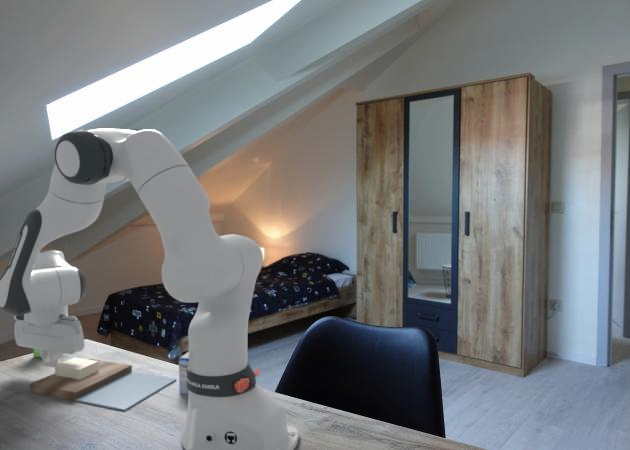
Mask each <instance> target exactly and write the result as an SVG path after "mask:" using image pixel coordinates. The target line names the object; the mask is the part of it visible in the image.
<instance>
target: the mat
mask: <svg viewBox="0 0 630 450" xmlns="http://www.w3.org/2000/svg"><path fill="white" fill-rule="evenodd" d="M176 381H177V378H173V377H169V376H168V377H167V376H162V375H161V376H160V375H155V374H150V373H144V372H143V373H142V372H137V371H133V370H132V371H131V372H129V373H127V374H125V375H123V376H121V377H119V378H117V379H115V380H113V381H111V382H109V383H107V384H105V385H103V386H101V387H99V388H97V389H95V390H93V391H91V392H89V393H87V394H85V395H83V396H81V397H79V398H77V399H75V401H74V402H77V403H78V402H79V403H82V404H87V405H91V406H93V405H94V406H98V407H101V408H107V409H111V410H115V411H122V412H126V411H127V410H129V409H131V408H132V407H134V406H136V405H138V404H140V403H141V402H142V401H145V400H146V399H148V398H149V397H151V396H153V395H154V394H156V393H157V392H159V391H161V390H163V389H164V388H167V387H168V386H170V385H171V384H173V383H174V382H176Z"/></svg>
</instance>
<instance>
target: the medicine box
mask: <svg viewBox="0 0 630 450" xmlns="http://www.w3.org/2000/svg"><path fill="white" fill-rule="evenodd" d="M188 366H189V351H187V352H186V353H184V354H183V355H182V356H181V357H179V358H178V376H179V377H178V378H179V379H178V380H179V381H178V382H179V383H178V386H179V387H178V388H179V390H178V391H179V392H178V393H179V394H184V395H189V392H188V388H187V367H188Z"/></svg>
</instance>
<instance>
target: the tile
mask: <svg viewBox="0 0 630 450" xmlns="http://www.w3.org/2000/svg"><path fill="white" fill-rule="evenodd" d="M98 371H99V361H94V360H88V359H86V358H82V357H81V358H80V357H75V356H74V357H72V358H69V359H68V360H64V361H62V362H59V363H58V364H57V365H55V367H54V374H55V375H57V376H63V377H68V378H74V379H79V380H80V379H82V378H85V377H87V376H89V375H91V374H93V373H95V372H98Z"/></svg>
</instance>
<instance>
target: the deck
mask: <svg viewBox="0 0 630 450" xmlns="http://www.w3.org/2000/svg"><path fill="white" fill-rule="evenodd" d="M88 360H94V361H99V371H98V372H95V373H93V374H91V375H89V376H87V377H85V378H82V379H80V380H79V379H74V378H68V377H63V376H57V375H55V373H53V374H50V375H47V376H45V377H43V378H40V379H38V380H35V381H33V382H31V383H29V384H30V385H29V387H30V393H35V394H40V395H44V396H49V397H53V398H59V399H63V400H68V401H73V402H76V401H75V399H77V398H79V397H81V396H83V395H85V394H87V393H89V392H91V391H93V390H95V389H97V388H99V387H101V386H103V385H105V384H107V383H109V382H111V381H113V380H115V379H117V378H119V377H121V376H123V375H125V374H127V373H129V372H131V371H133V368H132V367H133V365H131V364H125V363H119V362H114V361H113V362H112V361H106V360H102V359H100V360H99V359H94V358H89V359H88Z"/></svg>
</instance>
